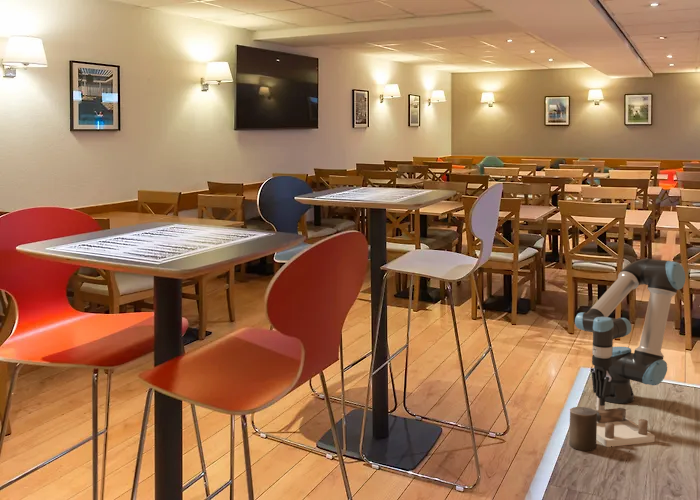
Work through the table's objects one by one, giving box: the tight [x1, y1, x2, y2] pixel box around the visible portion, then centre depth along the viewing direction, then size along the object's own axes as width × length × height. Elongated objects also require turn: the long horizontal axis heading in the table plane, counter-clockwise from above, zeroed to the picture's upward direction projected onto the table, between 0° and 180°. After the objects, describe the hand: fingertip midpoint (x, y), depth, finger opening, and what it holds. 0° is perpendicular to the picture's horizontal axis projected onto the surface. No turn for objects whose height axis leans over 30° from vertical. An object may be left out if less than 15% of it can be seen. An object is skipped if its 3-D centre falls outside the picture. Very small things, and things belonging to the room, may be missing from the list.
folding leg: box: [595, 407, 627, 423], centre depth 264 cm, size 13×4×4 cm, turn 101°
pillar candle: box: [568, 406, 597, 452], centre depth 247 cm, size 10×10×15 cm
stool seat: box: [596, 417, 656, 448], centre depth 257 cm, size 20×20×8 cm
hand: (600, 412), depth 267 cm, fingers closed
